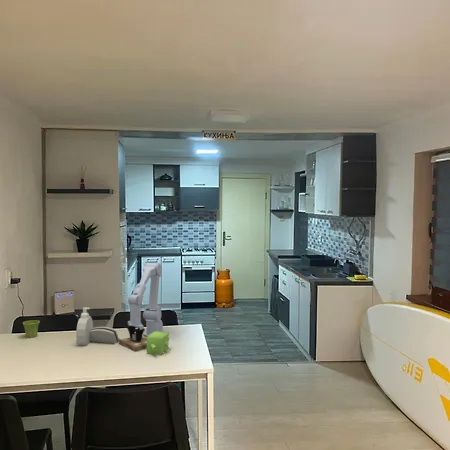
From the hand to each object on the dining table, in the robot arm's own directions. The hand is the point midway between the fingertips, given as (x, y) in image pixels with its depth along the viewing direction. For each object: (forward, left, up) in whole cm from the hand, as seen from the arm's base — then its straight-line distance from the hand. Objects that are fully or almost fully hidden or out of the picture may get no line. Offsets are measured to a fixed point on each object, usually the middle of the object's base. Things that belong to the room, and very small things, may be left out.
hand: (135, 339), depth 246 cm
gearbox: (-3, +20, -3) cm, 20 cm away
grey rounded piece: (+11, -16, -3) cm, 20 cm away
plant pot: (+40, -55, -3) cm, 68 cm away
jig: (0, +2, -3) cm, 3 cm away
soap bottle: (+20, -22, -3) cm, 30 cm away
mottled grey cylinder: (0, 0, -3) cm, 3 cm away
